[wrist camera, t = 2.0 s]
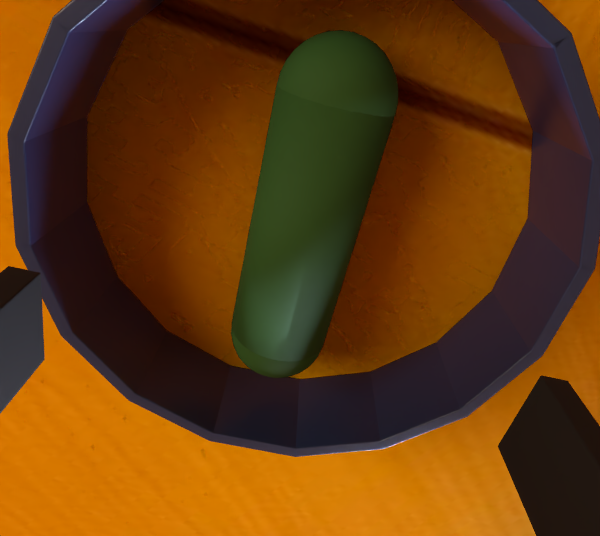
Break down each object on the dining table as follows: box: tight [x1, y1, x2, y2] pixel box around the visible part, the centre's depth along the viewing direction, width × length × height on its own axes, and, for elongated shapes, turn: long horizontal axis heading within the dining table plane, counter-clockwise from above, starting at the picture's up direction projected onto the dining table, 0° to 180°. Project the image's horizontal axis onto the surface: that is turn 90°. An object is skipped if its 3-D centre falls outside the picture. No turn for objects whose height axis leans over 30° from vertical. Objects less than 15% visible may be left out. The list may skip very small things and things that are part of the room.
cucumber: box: [231, 30, 398, 378], centre depth 20 cm, size 16×5×5 cm, turn 168°
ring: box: [8, 0, 600, 457], centre depth 20 cm, size 22×22×5 cm
